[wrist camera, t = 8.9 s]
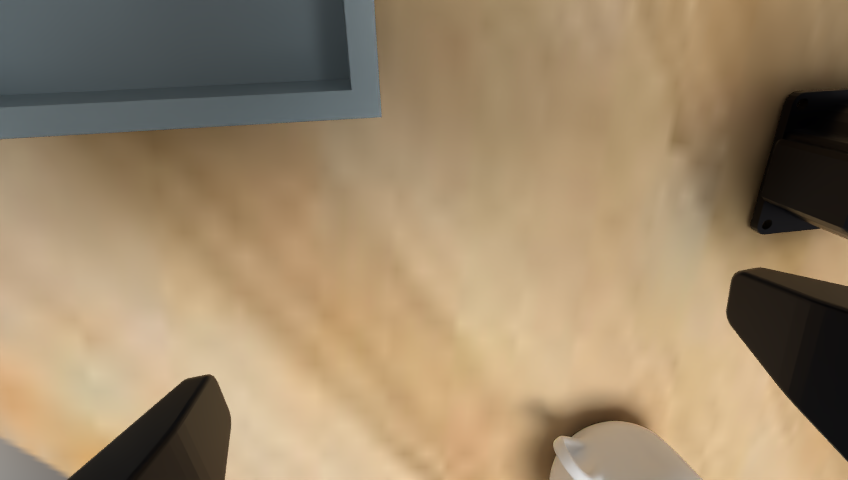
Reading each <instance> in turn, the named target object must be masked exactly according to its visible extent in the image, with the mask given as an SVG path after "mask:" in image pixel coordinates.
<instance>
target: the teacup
mask: <svg viewBox="0 0 848 480" xmlns="http://www.w3.org/2000/svg"><path fill="white" fill-rule="evenodd" d="M553 447H554V451H555V453H556V457H555V459H554V462H553V464H552V468H551V472H550V479H549V480H703V479H702V478H701V477H700V476H699V475H698V474H697V473H696V472H695V471H694V470H693V469H692V468H691V467H690V466H689V465H688V464H687V463H686V462H685V461H684V460H683V459H682V457H681V456H680V455H679V454H678V453H677V452H675V451H674V450H673V449H672V448H671V447H670V446H669V445H668V444H667V443H666V442H665V441H664V440H663V439H662V438H660V437H659V436H658V435H657V434H655V433H654V432H653V431H651V430H649V429H647V428H645V427H642V426H640V425H637V424H634V423H629V422H624V421H607V422H601V423H597V424H594V425H591V426H588V427H586V428H584V429H582V430H580V431H579V432H577V433H576V434H574V435H573V436H572V437H568V436H559V437H558V438H556V439H555V440H554V442H553Z"/></svg>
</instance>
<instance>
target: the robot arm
mask: <svg viewBox="0 0 848 480" xmlns="http://www.w3.org/2000/svg"><path fill="white" fill-rule="evenodd" d="M798 102H799V105H798V106H797V104H798ZM763 223H764V224H763ZM751 228H752V229H753V230H754V231H756V232H758V233H760V234H772V233H782V232H791V231H801V230H811V229H820V228H822V229H824V230H826V231H829V232H831V233H834V234H836V235H839V236H841V237H844V238H846V239H848V88H842V89H825V90H807V91H796V92H793V93H792V94H790V95H789V96H788V97H787V98H786V100H785V102H784V105H783V109H782V112H781V116H780V120H779V123H778V127H777V130H776V134H775V138H774V141H773V145H772V148H771V152H770V156H769V159H768V163H767V166H766V170H765V174H764V177H763V181H762V184H761V188H760V192H759V195H758V199H757V202H756V206H755V210H754V213H753V217H752V220H751ZM726 314H727V319H728V321H729V323H730V325H731V326H732V328H733V329H734V330H735V331H736V333H737V334H738V335H739V337H740V338H741V339H742V340H743V342H744V343H745V344H746V346H747V347H748V348H749V349H750V351H751V352H752V353H753V354H754V356H755V357H756V358H757V360H758V361H759V362H760V363H761V365H762V366H763V367H764V369H765V370H766V371H767V372H768V374H769V375H770V376H771V377H772V379H773V380H774V381H775V383H776V384H777V385H778V386H779V388H780V389H781V390H782V391H783V392H784V394H785V395H786V396H787V397H788V398H789V399H790V401H791V402H792V403H793V404H794V405H795V406H796V407H797V408H798V409H799V410H800V412H801V413H802V414H803V415H804V416H805V417H806V418H807V419H808V420H809V421H810V422H811V423H812V424H813V425H814V426H815V428H816V429H817V430H818V431H819V432H820V433H821V434H822V435H823V436H824V437H825V438H826V439H827V440H828V441H829V442H830V443H831V445H832V446H833V447H834V448H835V449H836V450H837V451H838V452H839V453H840V454H841V455H842V456H843V457H844V458H845V459H846V461H847V462H848V286H844V285H839V284H835V283H830V282H825V281H821V280H816V279H812V278H807V277H803V276H798V275H794V274H789V273H784V272H780V271H775V270H771V269H766V268H752V269H747V270H742V271H738V272H737V273H735V274H734V275H733V277H732V280H731V285H730V291H729V297H728V303H727V309H726ZM230 431H231V416H230V412H229V409H228V406H227V404H226V402H225V399H224V397H223V394H222V392H221V389H220V387H219V384H218V382H217V380H216V379H215V377H214V376H212V375H210V374H208V375H202V376H197V377H192V378H188V379H185V380H184V381H182V382H181V383H180V384H179V385H178V386H176V387H175V388H174V389H173V390H172V391H171V392H169V393H168V394H167V395H166V396H165V397H164V398H162V399H161V400H160V401H159V402H158V403H157V404H155V405H154V406H153V407H152V408H151V409H149V410H148V411H147V412H146V413H145V414H144V415H142V416H141V417H140V418H139V419H138V420H137V421H135V422H134V423H133V424H132V425H131V426H130V427H128V428H127V429H126V430H125V431H124V432H122V433H121V434H120V435H119V436H118V437H117V438H115V439H114V440H113V441H112V442H111V443H110V444H108V445H107V446H106V447H105V448H104V449H103V450H101V451H100V452H99V453H98V454H97V455H96V456H94V457H93V458H92V459H91V460H90V461H88V462H87V463H86V464H85V465H84V466H83V467H81V468H80V469H79V470H78V471H77V472H76V473H74V474H73V475H72V476H71V477H70V478H69V479H67V480H225V473H226V464H227V456H228V448H229V439H230Z"/></svg>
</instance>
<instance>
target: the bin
mask: <svg viewBox="0 0 848 480" xmlns="http://www.w3.org/2000/svg"><path fill="white" fill-rule="evenodd" d="M374 117H382V116H381V100H380V85H379V70H378V54H377V39H376V23H375V8H374V0H0V139H10V138H28V137H45V136H62V135H80V134H97V133H114V132H132V131H149V130H166V129H184V128H201V127H218V126H236V125H253V124H270V123H288V122H305V121H322V120H340V119H357V118H374Z"/></svg>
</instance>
